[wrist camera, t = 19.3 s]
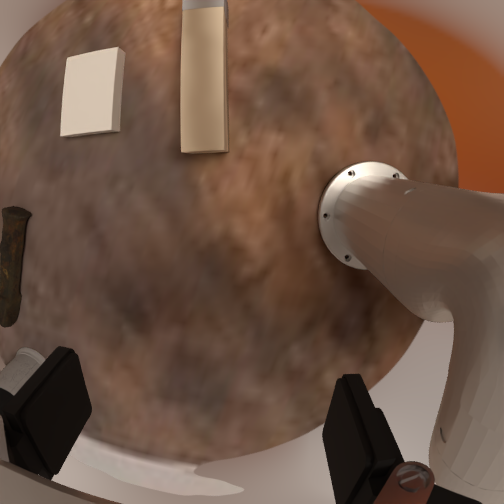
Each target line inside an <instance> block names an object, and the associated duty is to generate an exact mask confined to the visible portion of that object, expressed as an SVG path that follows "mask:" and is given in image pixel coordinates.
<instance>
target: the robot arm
mask: <svg viewBox="0 0 504 504" xmlns="http://www.w3.org/2000/svg"><path fill="white" fill-rule="evenodd" d="M349 171H350V172H351V175H350V176H349V175H348V172H349ZM393 174H394V175H395V177H394V178H393ZM325 213H326V214H327V216H326V217H323V214H325ZM318 223H319V230H320V233H321V236H322V239H323V241H324V242H325V244H326V246H327V248H328V249H329V250H330V252H331V253H332V254H333V255H334V256H335V257H336V258H337V259H338V260H340V261H341V262H343V263H344V264H346V265H348V266H351V267H353V268H356V269H362V270H369V271H370V272H371V273H372V274H373V275H374V276H375V277H376V278H377V279H378V280H379V281H380V282H381V283H382V284H383V285H384V286H385V287H386V288H387V289H388V290H389V291H390V292H391V293H392V294H393V295H394V296H395V297H396V298H397V299H398V301H400V302H401V303H402V304H403V305H404V306H405V307H406V308H407V309H408V310H409V311H410V312H412V313H413V314H415V315H416V316H418V317H420V318H422V319H424V320H427V321H431V322H451V321H453V322H454V341H453V348H452V354H451V359H450V364H449V370H448V377H447V381H446V385H445V389H444V393H443V397H442V401H441V404H440V408H439V411H438V415H437V419H436V423H435V426H434V430H433V433H432V437H431V441H430V447H429V466H430V468H429V467H428V466H426V465H424V464H422V463H420V462H415V461H408V462H404V459H403V457H402V455H401V452H400V450H399V448H398V445H397V443H396V441H395V438H394V436H393V434H392V432H391V429H390V427H389V425H388V423H387V420H386V418H385V416H384V414H383V412H382V410H381V409H380V408H375V407H374V404H373V402H372V400H371V397H370V395H369V393H368V391H367V388H366V386H365V384H364V382H363V379H362V377H361V375H360V374H344V375H343V376H342V378H338V379H337V381H336V385H335V389H334V393H333V396H332V400H331V404H330V407H329V411H328V414H327V418H326V421H325V424H324V428H323V433H322V437H323V443H324V447H325V452H326V457H327V462H328V466H329V471H330V476H331V481H332V486H333V490H334V496H335V500H336V504H504V194H498V193H497V194H496V193H485V192H477V191H470V190H465V189H459V188H454V187H448V186H441V185H436V184H430V183H424V182H418V181H412V180H408V179H407V178H406V177H405V176H404V175H403V174H402V173H401V172H400V171H399V170H397V169H396V168H394V167H393V166H390V165H388V164H385V163H381V162H376V161H365V162H358V163H355V164H352V165H350V166H347V167H346V168H344V169H343V170H341V171H339V172H338V173H337V174H336V175H335V176H334V177H333V178H332V179H331V181H330V182H329V183H328V185H327V186H326V188H325V190H324V192H323V194H322V196H321V200H320V204H319V209H318ZM346 255H348V257H347V258H345V256H346ZM2 410H3V412H4V413H3V414H2V415H0V504H121V503H118V502H114V501H110V500H106V499H103V498H100V497H96V496H93V495H90V494H87V493H84V492H81V491H78V490H75V489H72V488H69V487H66V486H64V485H61V484H59V483H56V482H54V481H51V479H52V477H53V476H54V474H55V475H56V474H58V473H59V471H60V469H61V467H62V465H63V463H64V462H65V460H66V458H67V456H68V454H69V452H70V451H71V449H72V447H73V445H74V443H75V442H76V440H77V438H78V436H79V434H80V433H81V431H82V429H83V427H84V425H85V424H86V422H87V420H88V418H89V417H90V415H91V412H92V406H91V402H90V399H89V395H88V392H87V388H86V385H85V381H84V377H83V373H82V369H81V365H80V361H79V357H78V355H77V354H76V353H75V351H74V350H73V349H70V348H66V347H61V346H59V347H57V348H56V349H55V350H54V351H53V353H52V354H51V355H50V356H49V357H48V358H47V359H46V360H45V361H44V362H43V363H42V365H41V366H40V367H39V368H38V369H37V370H36V371H35V372H34V373H33V375H32V376H31V377H30V378H29V379H28V380H27V381H26V382H25V384H24V385H23V386H22V387H21V388H20V389H19V390H18V392H17V393H16V394H15V395H14V396H13V397H12V399H11V400H10V401H9V402H8V403H7V404H6V406H5V407H4V408H3V409H2ZM38 474H39V475H38ZM41 476H42V477H41ZM434 483H436V484H434Z"/></svg>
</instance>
